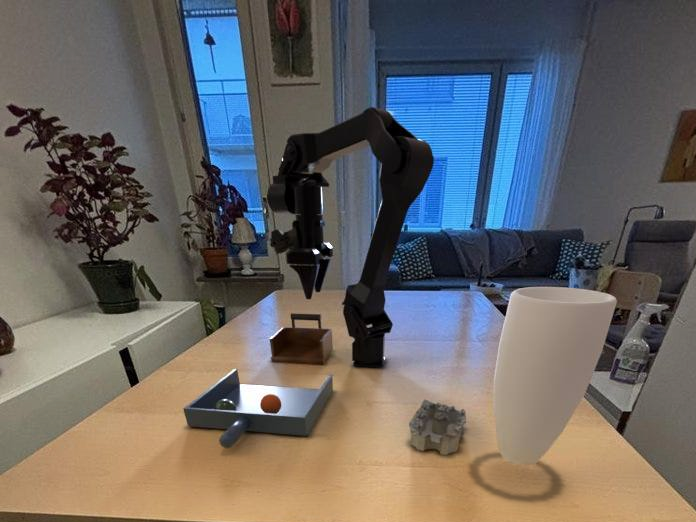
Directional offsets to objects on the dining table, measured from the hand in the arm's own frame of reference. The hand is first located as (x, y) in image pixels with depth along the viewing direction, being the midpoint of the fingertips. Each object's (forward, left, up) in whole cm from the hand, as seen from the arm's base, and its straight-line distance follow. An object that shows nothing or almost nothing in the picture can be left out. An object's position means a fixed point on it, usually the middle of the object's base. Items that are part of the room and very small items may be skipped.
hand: (313, 295), depth 92 cm
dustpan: (-1, +40, -12) cm, 42 cm away
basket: (+1, +8, -12) cm, 14 cm away
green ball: (+4, +43, -10) cm, 44 cm away
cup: (-40, +52, -12) cm, 66 cm away
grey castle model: (-30, +43, -12) cm, 53 cm away
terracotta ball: (-3, +40, -10) cm, 41 cm away
